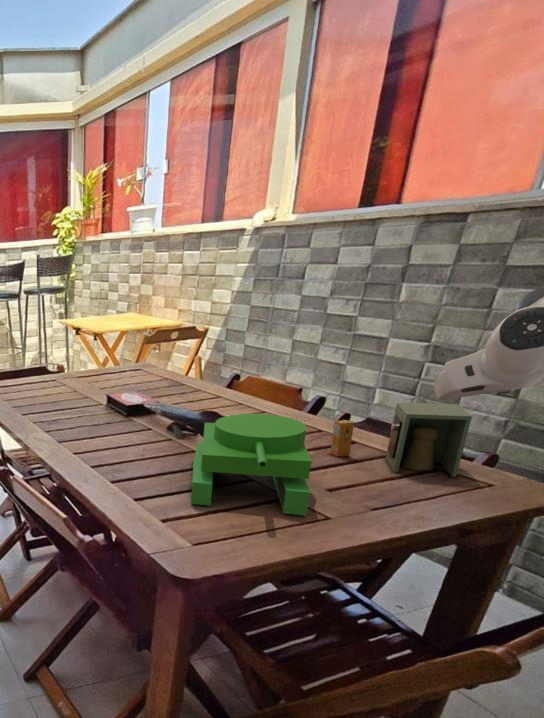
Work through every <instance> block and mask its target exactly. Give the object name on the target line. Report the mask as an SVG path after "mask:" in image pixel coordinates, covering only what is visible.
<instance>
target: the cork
mask: <svg viewBox="0 0 544 718" xmlns="http://www.w3.org/2000/svg"><path fill="white" fill-rule="evenodd" d="M411 435H412V437H413V439H412V441H411V444H410V446H409V448H408V451H407V453H406V456H405V458H404V460H402V463H401V465H402V466H403V467H405V468H407V469H411V470H417V471H431V470H434V463H435V462H434V444H435V439H436V438H438V436H439V429H438V428H436V427H434V426H430V425H417V426H415V427H414V428H413V429H412V431H411Z"/></svg>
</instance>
